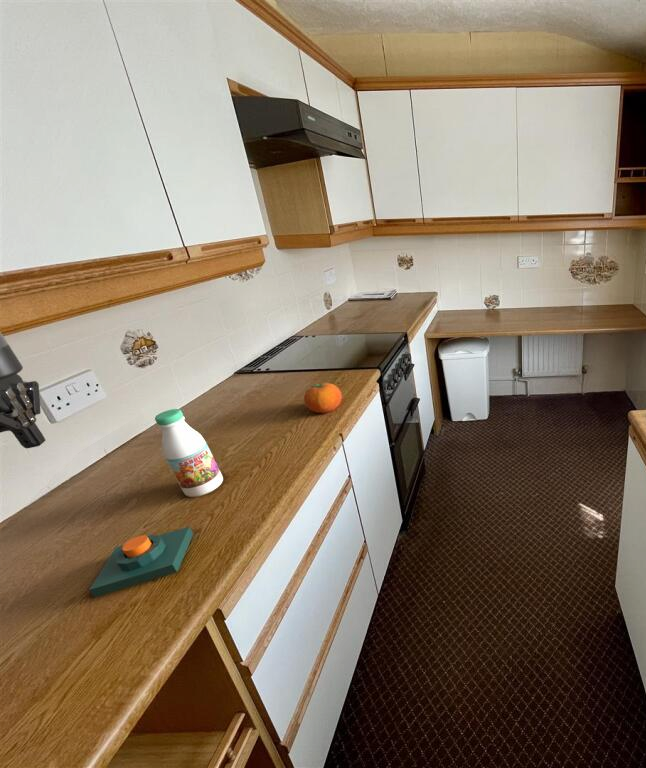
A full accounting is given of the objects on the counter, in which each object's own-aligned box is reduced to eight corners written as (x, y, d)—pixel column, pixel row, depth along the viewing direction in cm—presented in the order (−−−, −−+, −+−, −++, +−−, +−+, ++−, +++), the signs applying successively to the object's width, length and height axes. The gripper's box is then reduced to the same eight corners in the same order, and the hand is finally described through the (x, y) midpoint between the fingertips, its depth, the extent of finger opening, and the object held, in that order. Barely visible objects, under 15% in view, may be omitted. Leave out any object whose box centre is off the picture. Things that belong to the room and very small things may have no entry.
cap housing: (95, 598, 70) (83, 582, 68) (121, 555, 78) (110, 540, 76) (178, 573, 73) (168, 557, 71) (194, 534, 82) (185, 519, 80)
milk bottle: (176, 495, 93) (135, 421, 85) (208, 474, 100) (172, 403, 91) (201, 500, 91) (161, 424, 82) (231, 478, 98) (197, 406, 89)
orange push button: (123, 560, 72) (118, 553, 71) (131, 546, 75) (127, 539, 74) (147, 553, 73) (143, 546, 72) (154, 539, 76) (150, 532, 75)
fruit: (349, 409, 126) (342, 386, 122) (314, 421, 120) (306, 398, 116) (337, 398, 133) (331, 376, 130) (304, 409, 128) (297, 386, 124)
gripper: (-30, 341, 66) (31, 431, 73) (-105, 370, 54) (-23, 473, 62) (30, 333, 68) (84, 421, 75) (-30, 359, 57) (40, 460, 64)
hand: (35, 445), depth 69 cm, fingers closed
